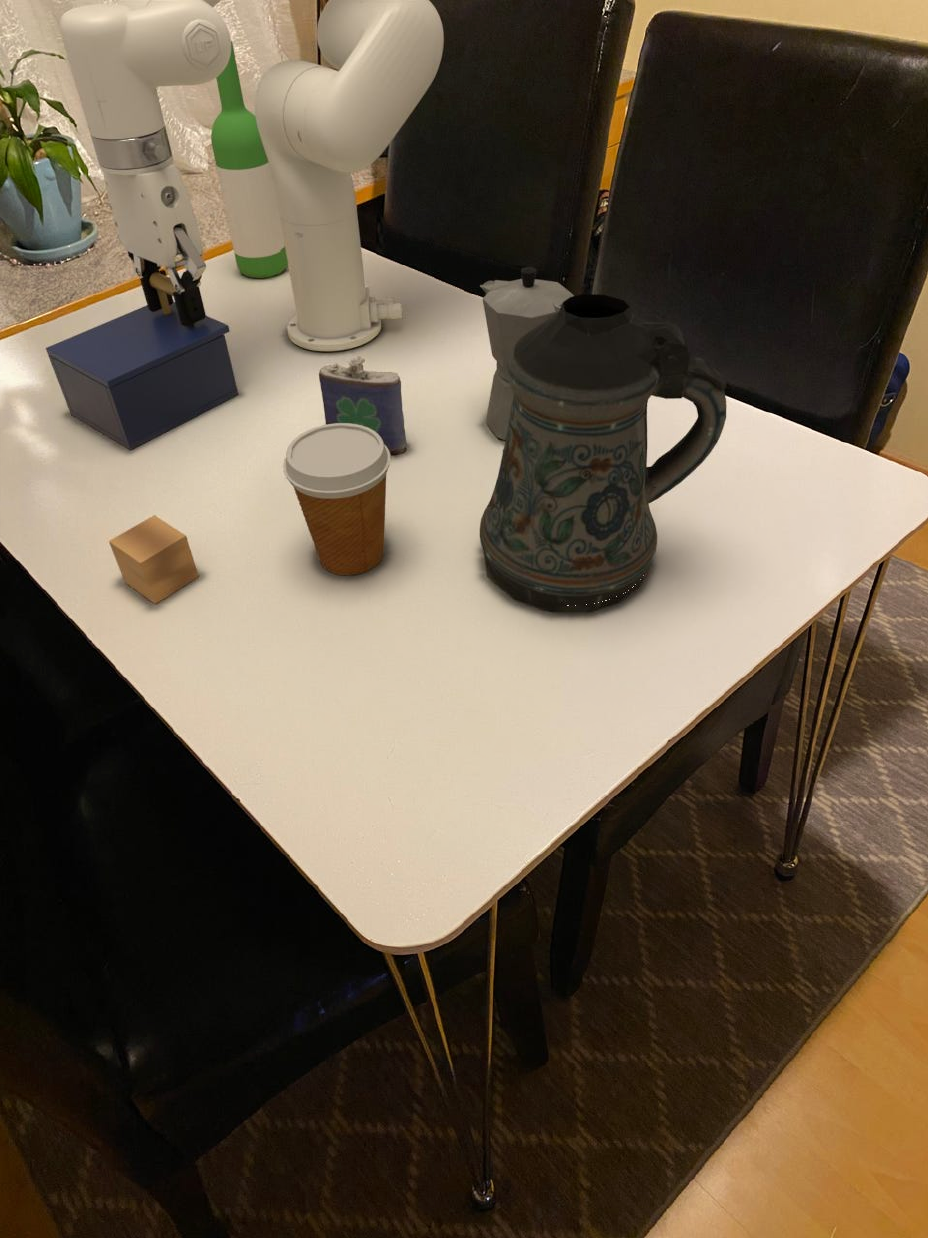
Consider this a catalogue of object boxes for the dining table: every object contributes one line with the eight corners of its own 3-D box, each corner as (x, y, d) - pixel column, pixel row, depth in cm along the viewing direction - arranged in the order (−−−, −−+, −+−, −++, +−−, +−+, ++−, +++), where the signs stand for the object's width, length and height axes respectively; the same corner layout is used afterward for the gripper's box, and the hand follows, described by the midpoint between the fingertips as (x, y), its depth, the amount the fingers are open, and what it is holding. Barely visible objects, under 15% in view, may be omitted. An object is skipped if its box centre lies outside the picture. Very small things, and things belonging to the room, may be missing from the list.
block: (168, 555, 88) (154, 514, 84) (199, 576, 85) (186, 535, 82) (124, 582, 85) (108, 541, 82) (155, 604, 83) (140, 563, 79)
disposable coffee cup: (304, 528, 90) (283, 424, 82) (399, 520, 91) (388, 416, 82) (300, 591, 83) (277, 484, 75) (402, 582, 84) (390, 475, 75)
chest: (177, 364, 116) (161, 306, 111) (238, 394, 110) (224, 334, 105) (70, 414, 108) (47, 354, 103) (130, 450, 102) (109, 388, 96)
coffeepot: (456, 419, 104) (449, 265, 92) (511, 388, 109) (511, 237, 96) (558, 470, 96) (566, 308, 84) (612, 434, 101) (627, 276, 88)
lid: (166, 303, 111) (154, 258, 107) (230, 331, 105) (219, 284, 101) (47, 354, 103) (29, 307, 99) (109, 388, 96) (92, 339, 93)
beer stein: (455, 529, 89) (443, 282, 72) (629, 484, 94) (657, 242, 77) (521, 637, 78) (525, 376, 61) (715, 580, 83) (770, 321, 65)
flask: (409, 444, 101) (401, 356, 93) (401, 458, 99) (392, 369, 91) (333, 434, 103) (319, 347, 95) (323, 448, 101) (308, 361, 93)
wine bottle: (296, 260, 139) (260, 34, 119) (278, 281, 134) (236, 48, 113) (250, 257, 141) (206, 33, 120) (230, 278, 135) (179, 47, 115)
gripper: (212, 153, 91) (248, 322, 104) (117, 125, 100) (161, 285, 112) (151, 174, 87) (196, 347, 100) (57, 143, 96) (109, 306, 108)
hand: (177, 312), depth 106 cm, fingers closed on lid, 5 cm apart
